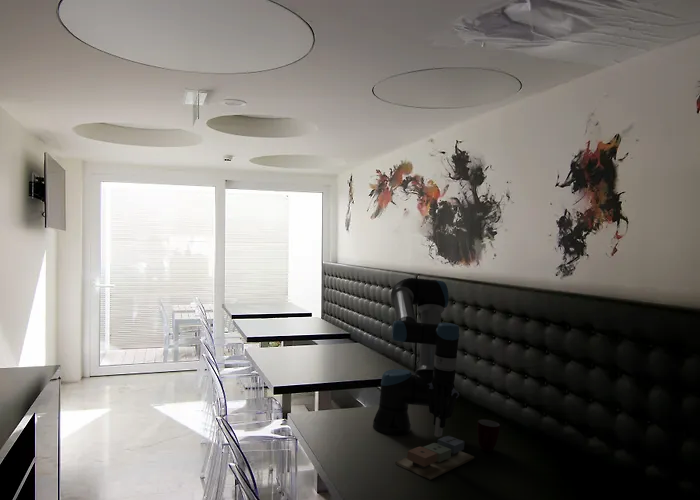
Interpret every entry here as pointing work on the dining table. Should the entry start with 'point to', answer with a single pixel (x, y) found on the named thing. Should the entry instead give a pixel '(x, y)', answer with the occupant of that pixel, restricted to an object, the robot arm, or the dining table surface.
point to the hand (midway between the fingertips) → (438, 435)
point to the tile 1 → (422, 456)
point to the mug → (487, 434)
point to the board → (436, 465)
